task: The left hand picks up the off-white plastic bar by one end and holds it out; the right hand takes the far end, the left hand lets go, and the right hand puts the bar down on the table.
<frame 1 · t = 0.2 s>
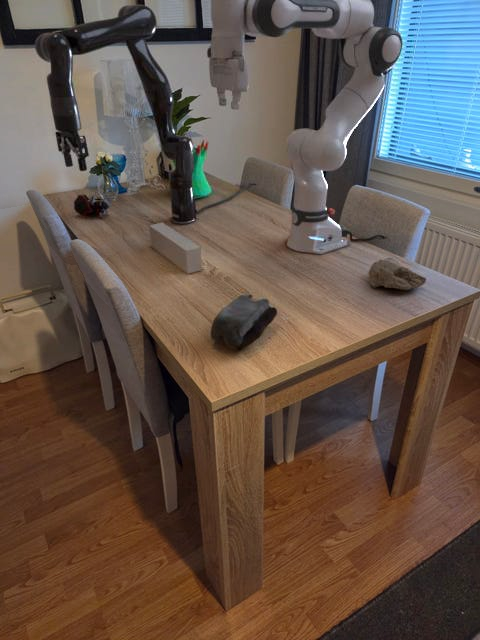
left hand: (76, 168, 141), 29 cm above the table, tool pointing down, fingers open, 8 cm apart
right hand: (228, 107, 127), 47 cm above the table, tool pointing down, fingers open, 8 cm apart
toy: (92, 216, 189), on the table
bar: (175, 257, 153), on the table
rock: (245, 335, 112), on the table
artifact: (390, 282, 137), on the table
toy 2: (190, 195, 217), on the table
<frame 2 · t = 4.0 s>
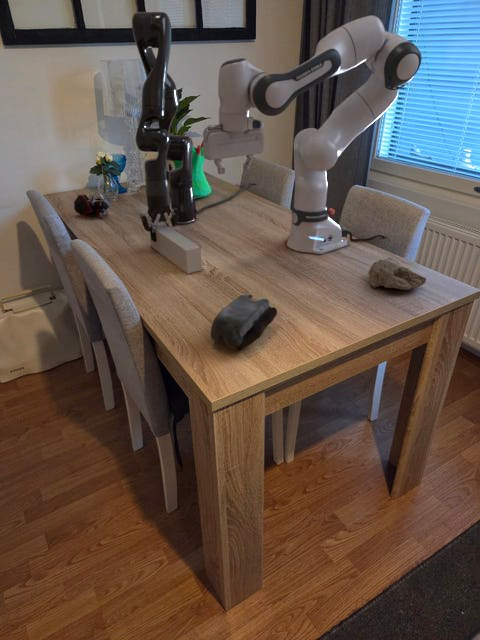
left hand: (162, 239, 158), 3 cm above the table, tool pointing down, fingers closed on bar, 5 cm apart
right hand: (234, 171, 137), 29 cm above the table, tool pointing down, fingers open, 8 cm apart
bar: (175, 257, 153), on the table, touching left hand
everything else where it was.
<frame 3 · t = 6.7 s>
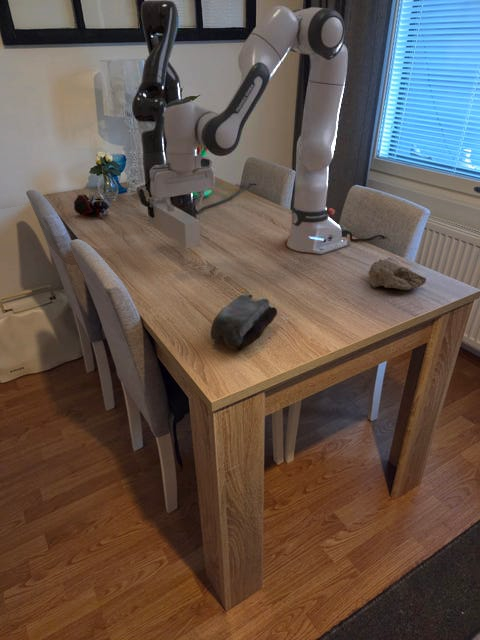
left hand: (160, 215, 153), 12 cm above the table, tool pointing down, fingers closed on bar, 5 cm apart
right hand: (184, 208, 136), 20 cm above the table, tool pointing down, fingers open, 8 cm apart
bar: (173, 233, 149), point 9 cm above the table, touching left hand
everything else where it was.
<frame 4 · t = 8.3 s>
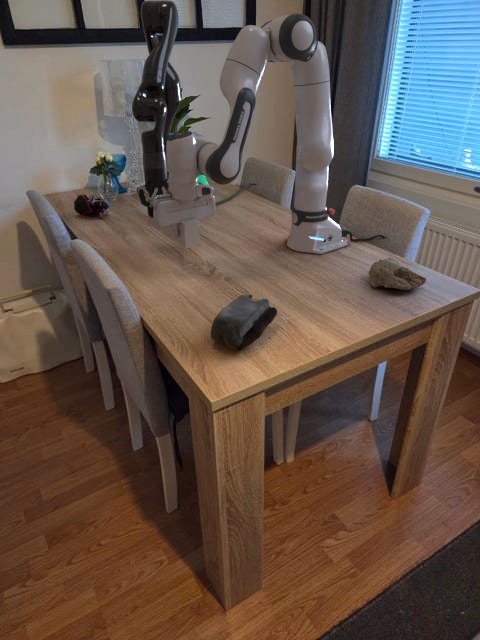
left hand: (159, 215, 153), 12 cm above the table, tool pointing down, fingers closed on bar, 5 cm apart
right hand: (186, 234, 140), 12 cm above the table, tool pointing down, fingers closed on bar, 5 cm apart
bar: (173, 233, 149), point 9 cm above the table, touching left hand, right hand
everything else where it was.
when the left hand's fingers open (12 cm above the table, at t = 9.4 s): bar stays where it is, held by the right hand.
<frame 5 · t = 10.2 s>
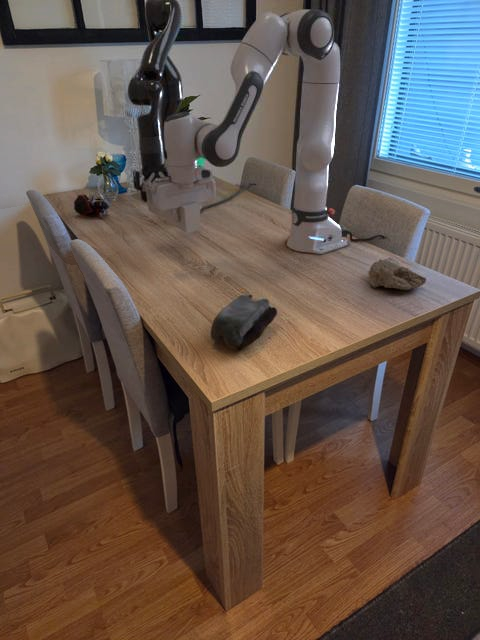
left hand: (156, 199, 152), 17 cm above the table, tool pointing down, fingers open, 8 cm apart
right hand: (187, 219, 138), 16 cm above the table, tool pointing down, fingers closed on bar, 5 cm apart
bar: (173, 219, 146), point 13 cm above the table, touching right hand
everything else where it was.
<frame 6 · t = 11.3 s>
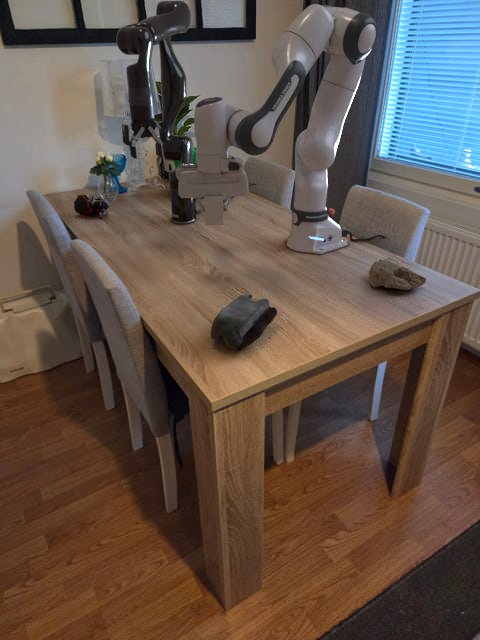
left hand: (146, 156, 148), 31 cm above the table, tool pointing down, fingers open, 8 cm apart
right hand: (214, 211, 131), 21 cm above the table, tool pointing down, fingers closed on bar, 5 cm apart
bar: (214, 210, 141), point 18 cm above the table, touching right hand
everything else where it was.
when the right hand's fingers open (4 cm above the table, at t = 14.7 s): bar stays where it is, on the table.
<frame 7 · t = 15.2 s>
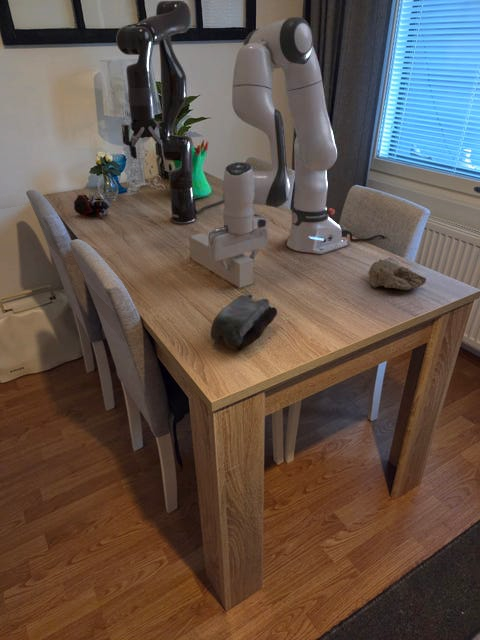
left hand: (146, 156, 148), 31 cm above the table, tool pointing down, fingers open, 8 cm apart
right hand: (239, 266, 135), 5 cm above the table, tool pointing down, fingers open, 8 cm apart
bar: (220, 270, 144), on the table
everything else where it was.
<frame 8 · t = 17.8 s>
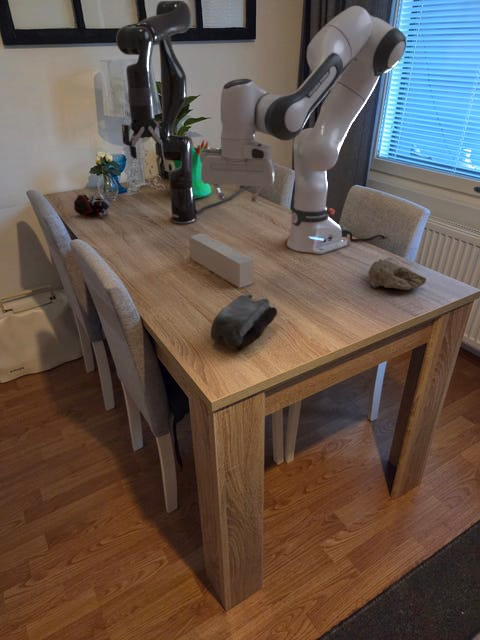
left hand: (146, 156, 148), 31 cm above the table, tool pointing down, fingers open, 8 cm apart
right hand: (237, 200, 125), 25 cm above the table, tool pointing down, fingers open, 8 cm apart
nothing on the table moved.
at the end: bar inside the target area (9.5 cm from its centre), on the table; the left hand is holding nothing; the right hand is holding nothing; bar at rest at the end (0.0 cm/s) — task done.
